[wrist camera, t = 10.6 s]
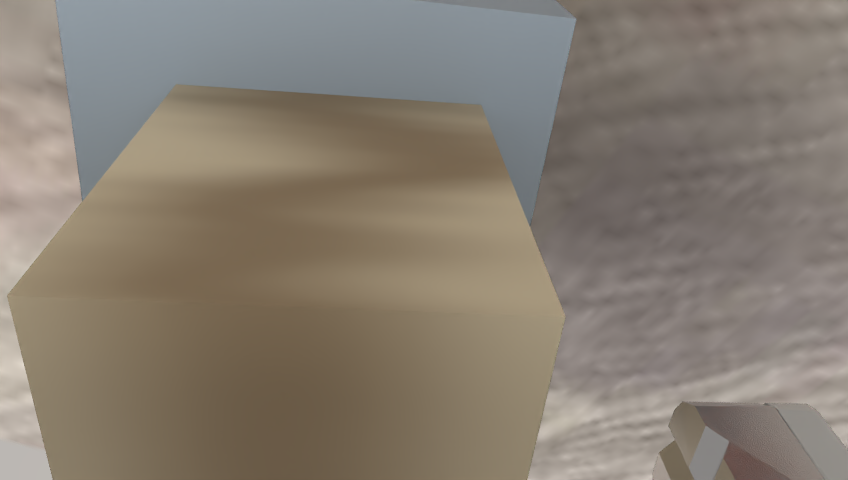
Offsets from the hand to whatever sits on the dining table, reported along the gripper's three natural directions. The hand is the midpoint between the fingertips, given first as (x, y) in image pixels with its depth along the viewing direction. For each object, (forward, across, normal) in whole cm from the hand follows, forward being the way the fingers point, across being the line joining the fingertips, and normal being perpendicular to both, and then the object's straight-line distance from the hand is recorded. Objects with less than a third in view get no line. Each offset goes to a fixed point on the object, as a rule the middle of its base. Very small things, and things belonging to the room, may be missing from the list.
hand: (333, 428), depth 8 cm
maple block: (+5, 0, 0) cm, 5 cm away
